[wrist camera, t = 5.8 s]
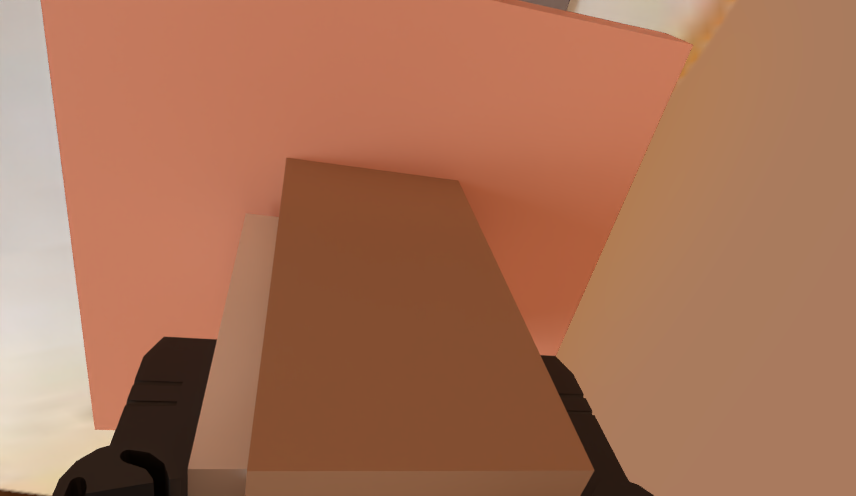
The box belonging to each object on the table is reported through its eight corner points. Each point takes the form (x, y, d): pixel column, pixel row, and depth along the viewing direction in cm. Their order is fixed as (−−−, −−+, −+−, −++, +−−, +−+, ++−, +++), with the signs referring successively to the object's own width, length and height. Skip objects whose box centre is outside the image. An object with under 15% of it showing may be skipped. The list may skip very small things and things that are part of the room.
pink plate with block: (108, 397, 17) (-70, 824, 9) (56, -103, 10) (-722, -77, 3) (510, 408, 20) (628, 731, 12) (665, 32, 13) (1118, 224, 6)
